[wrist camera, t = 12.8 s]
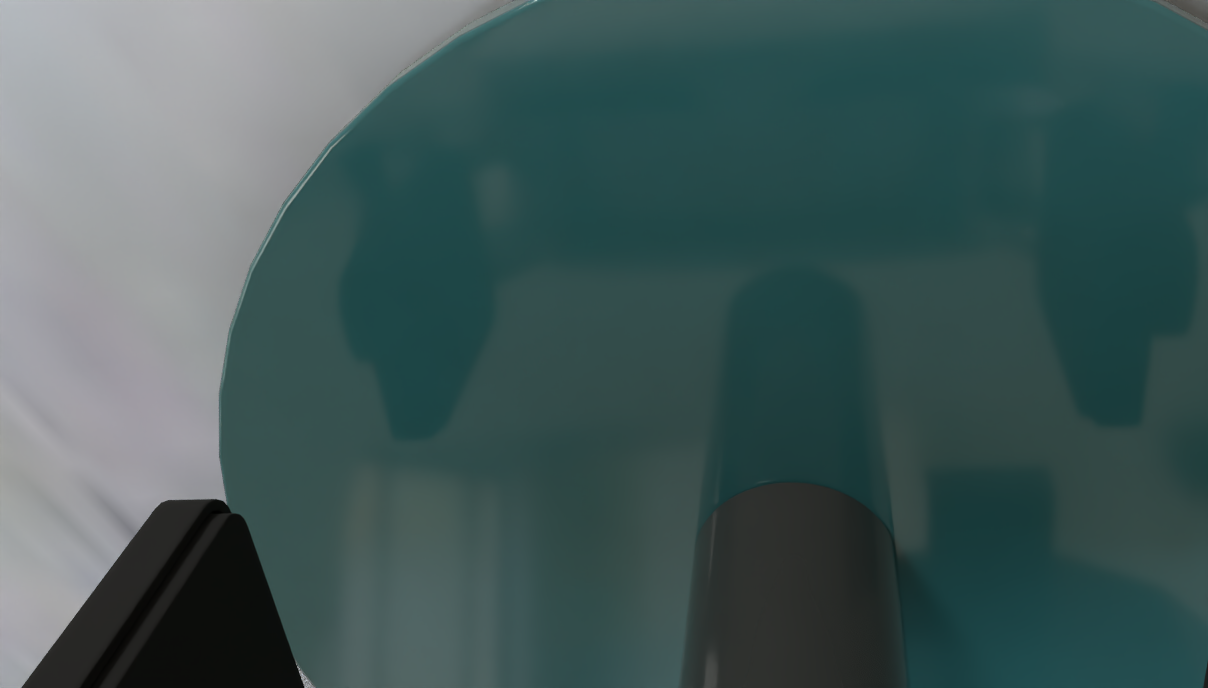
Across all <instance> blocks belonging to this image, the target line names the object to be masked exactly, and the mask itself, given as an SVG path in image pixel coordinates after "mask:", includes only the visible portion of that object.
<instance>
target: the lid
mask: <svg viewBox="0 0 1208 688" xmlns="http://www.w3.org/2000/svg"><path fill="white" fill-rule="evenodd" d="M219 458H220V464H221V471H222V477H223V483H224V489H225V495H226V502H227V505H228V506H229V508H230V510H231V512H232V513H236V514H240V515H241V516H242V517H243V518H244V519H245V521H246V523H247V525H248V528H249V531H250V534H251V537H252V540H253V543H254V545H255V548H256V551H257V554H258V557H259V560H260V562H261V565H262V568H263V571H264V574H265V577H266V580H267V582H268V585H269V588H270V591H271V594H272V597H273V600H274V602H275V605H276V608H277V611H278V614H279V617H280V619H281V622H282V625H283V628H284V631H285V634H286V637H287V639H288V642H289V645H290V648H291V651H292V654H293V657H294V659H295V662H296V663H297V665H298V666H299V668H300V670H301V671H302V673H303V674H304V675H305V676H306V677H307V679H308V680H309V681H310V682H311V684H312V685H313V686H314V687H315V688H1203V685H1204V680H1205V674H1206V668H1207V663H1208V23H1206V22H1204V21H1202V20H1200V19H1198V18H1196V17H1195V16H1193V15H1191V14H1189V13H1187V12H1185V11H1184V10H1182V9H1180V8H1178V7H1176V6H1174V5H1173V4H1171V3H1169V2H1167V1H1165V0H514V1H512V2H510V3H508V4H506V5H504V6H502V7H500V8H498V9H496V10H495V11H493V12H491V13H489V14H487V15H485V16H483V17H481V18H479V19H477V20H475V21H473V22H471V23H469V24H468V25H467V26H465V27H464V28H462V29H461V30H459V31H458V32H457V33H455V34H454V35H452V36H451V37H450V38H448V39H447V40H445V41H444V42H443V43H441V44H440V45H438V46H437V47H436V48H434V49H433V50H431V51H430V52H428V53H427V54H426V55H424V56H423V57H421V58H420V59H419V60H417V61H416V62H414V63H413V64H412V65H410V66H409V67H407V68H406V69H405V70H403V71H402V72H400V73H399V74H398V75H397V76H396V77H395V78H394V79H393V80H392V81H391V82H390V83H389V84H388V85H387V86H386V87H385V88H384V89H383V90H382V91H381V92H380V93H379V94H378V95H377V96H376V97H374V98H373V99H372V100H371V101H370V102H369V103H368V104H367V105H366V106H365V107H364V108H363V109H362V110H361V111H360V112H359V113H358V114H357V115H356V116H355V117H354V118H353V119H352V120H351V121H350V122H349V123H348V124H346V125H345V126H344V127H343V128H342V129H341V130H340V132H339V133H338V134H337V135H336V136H335V137H334V138H333V139H332V140H331V141H330V142H329V143H328V144H327V146H326V147H325V148H324V150H323V151H322V152H321V154H320V155H319V156H318V158H317V159H316V160H315V162H314V163H313V164H312V166H311V167H310V168H309V170H308V171H307V172H306V174H305V175H304V176H303V178H302V179H301V180H300V182H299V183H298V184H297V185H296V187H295V188H294V189H293V191H292V192H291V193H290V195H289V196H288V197H287V199H286V200H285V201H284V203H283V204H282V206H281V208H280V210H279V212H278V214H277V216H276V218H275V220H274V222H273V223H272V225H271V227H270V229H269V231H268V233H267V235H266V237H265V239H264V240H263V242H262V244H261V246H260V248H259V250H258V252H257V254H256V256H255V258H254V259H253V261H252V263H251V265H250V268H249V271H248V274H247V277H246V280H245V283H244V286H243V289H242V292H241V295H240V298H239V301H238V304H237V307H236V310H235V313H234V316H233V319H232V322H231V325H230V328H229V333H228V339H227V345H226V352H225V358H224V364H223V371H222V377H221V383H220V390H219Z"/></svg>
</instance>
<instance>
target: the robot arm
mask: <svg viewBox="0 0 1208 688" xmlns="http://www.w3.org/2000/svg"><path fill="white" fill-rule="evenodd" d="M22 688H304V685H303V682H302V679H301V676H300V674H299V671H298V668H297V665H296V662H295V659H294V657H293V654H292V651H291V648H290V645H289V642H288V639H287V637H286V634H285V631H284V628H283V625H282V622H281V619H280V617H279V614H278V611H277V608H276V605H275V602H274V600H273V597H272V594H271V591H270V588H269V585H268V582H267V580H266V577H265V574H264V571H263V568H262V565H261V562H260V560H259V557H258V554H257V551H256V548H255V545H254V543H253V540H252V537H251V534H250V531H249V528H248V525H247V523H246V521H245V519H244V518H243V517H242V516H241V515H240V514H236V513H232V512H231V510H230V508H229V506H228V505H226V504H225V503H224V502H223V501H221V500H217V499H208V500H168V501H165V502H162V503H161V504H160V505H159V506H158V507H157V508H155V510H154V511H153V512H152V514H151V515H150V516H149V518H148V519H147V520H146V522H145V523H144V524H143V526H142V527H141V528H140V530H139V531H138V532H137V534H136V535H135V536H134V538H133V539H132V540H131V542H130V543H129V544H128V546H127V547H126V548H125V550H124V551H123V552H122V554H121V555H120V556H119V558H118V559H117V560H116V562H115V563H114V564H113V566H112V567H111V568H110V570H109V571H108V573H107V574H106V575H105V577H104V578H103V579H102V581H101V582H100V583H99V585H98V586H97V587H96V589H95V590H94V591H93V593H92V594H91V595H90V597H89V598H88V599H87V601H86V602H85V603H84V605H83V606H82V607H81V609H80V610H79V611H78V613H77V614H76V615H75V617H74V618H73V619H72V621H71V622H70V623H69V625H68V626H67V627H66V629H65V630H64V631H63V633H62V634H61V635H60V637H59V638H58V639H57V641H56V642H55V643H54V645H53V646H52V647H51V649H50V650H49V651H48V653H47V654H46V656H45V657H44V658H43V660H42V661H41V662H40V664H39V665H38V666H37V668H36V669H35V670H34V672H33V673H32V674H31V676H30V677H29V678H28V680H27V681H26V682H25V684H24V685H23V686H22ZM1203 688H1208V663H1207V668H1206V674H1205V680H1204V685H1203Z"/></svg>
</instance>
